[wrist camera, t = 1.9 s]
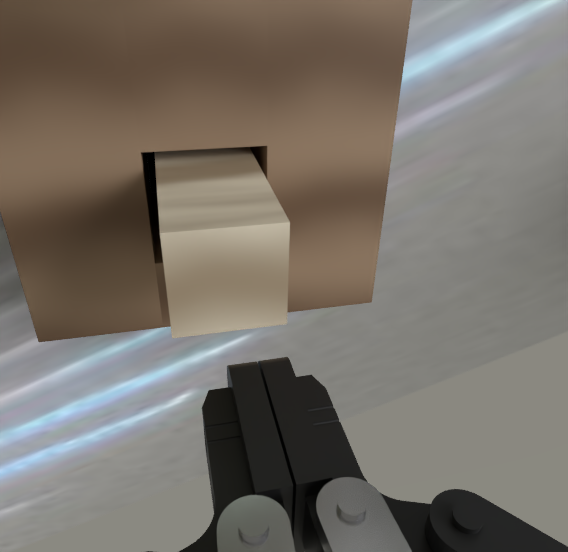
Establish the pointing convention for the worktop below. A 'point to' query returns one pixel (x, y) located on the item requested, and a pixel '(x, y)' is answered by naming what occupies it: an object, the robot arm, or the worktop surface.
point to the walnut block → (190, 140)
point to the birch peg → (221, 242)
